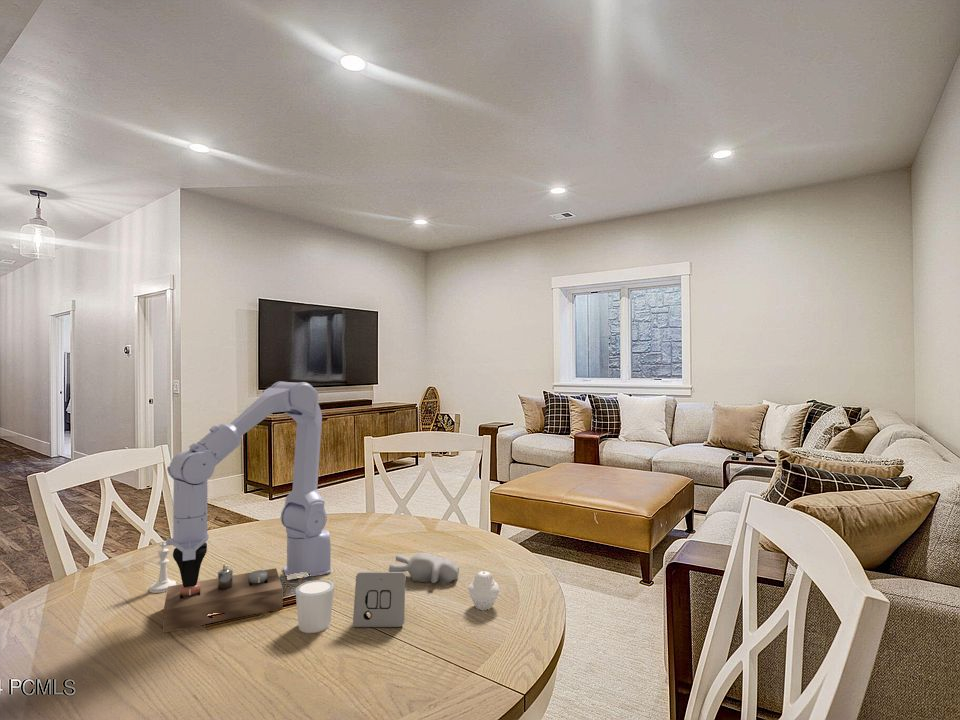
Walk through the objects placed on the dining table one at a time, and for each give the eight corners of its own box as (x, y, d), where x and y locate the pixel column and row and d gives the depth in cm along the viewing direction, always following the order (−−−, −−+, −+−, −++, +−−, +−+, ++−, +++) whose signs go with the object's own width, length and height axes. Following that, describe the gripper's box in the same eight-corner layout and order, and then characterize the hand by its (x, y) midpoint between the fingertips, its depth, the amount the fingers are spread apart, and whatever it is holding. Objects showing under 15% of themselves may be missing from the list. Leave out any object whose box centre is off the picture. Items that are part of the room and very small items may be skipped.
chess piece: (163, 594, 108) (164, 546, 108) (143, 592, 109) (144, 544, 109) (181, 584, 113) (182, 538, 113) (162, 582, 114) (162, 536, 114)
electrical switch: (352, 628, 94) (353, 575, 95) (358, 617, 99) (360, 567, 100) (403, 629, 94) (404, 576, 95) (407, 617, 99) (408, 567, 100)
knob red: (200, 606, 101) (200, 580, 101) (200, 614, 98) (200, 587, 98) (180, 610, 100) (180, 583, 100) (179, 619, 96) (179, 591, 96)
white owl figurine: (484, 617, 98) (484, 580, 98) (461, 607, 102) (461, 571, 102) (505, 606, 103) (505, 570, 103) (482, 596, 107) (482, 562, 107)
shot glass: (341, 619, 97) (341, 582, 97) (318, 637, 91) (319, 597, 91) (311, 613, 100) (311, 577, 100) (286, 630, 93) (287, 591, 93)
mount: (276, 586, 111) (276, 568, 111) (282, 608, 102) (282, 587, 102) (167, 606, 102) (167, 586, 102) (163, 632, 92) (163, 610, 92)
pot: (232, 583, 104) (232, 562, 104) (232, 588, 101) (232, 566, 101) (217, 586, 102) (217, 564, 102) (217, 591, 100) (217, 568, 100)
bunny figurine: (456, 570, 110) (388, 559, 112) (453, 594, 111) (385, 582, 112) (462, 554, 120) (399, 544, 121) (459, 576, 120) (396, 565, 121)
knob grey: (266, 594, 107) (266, 569, 107) (268, 601, 104) (268, 575, 104) (248, 597, 105) (248, 572, 105) (249, 605, 102) (249, 578, 102)
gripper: (168, 507, 104) (168, 575, 104) (163, 528, 91) (162, 605, 91) (208, 503, 107) (208, 569, 107) (208, 522, 94) (208, 597, 94)
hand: (190, 585), depth 99 cm, fingers closed, pressing on knob red
